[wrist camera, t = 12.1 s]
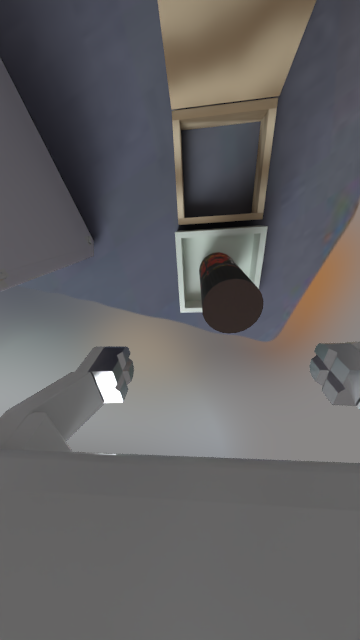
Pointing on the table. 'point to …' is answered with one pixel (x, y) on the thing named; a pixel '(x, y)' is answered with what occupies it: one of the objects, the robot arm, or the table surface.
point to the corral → (220, 117)
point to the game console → (33, 200)
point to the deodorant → (228, 295)
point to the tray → (198, 244)
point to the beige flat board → (229, 48)
